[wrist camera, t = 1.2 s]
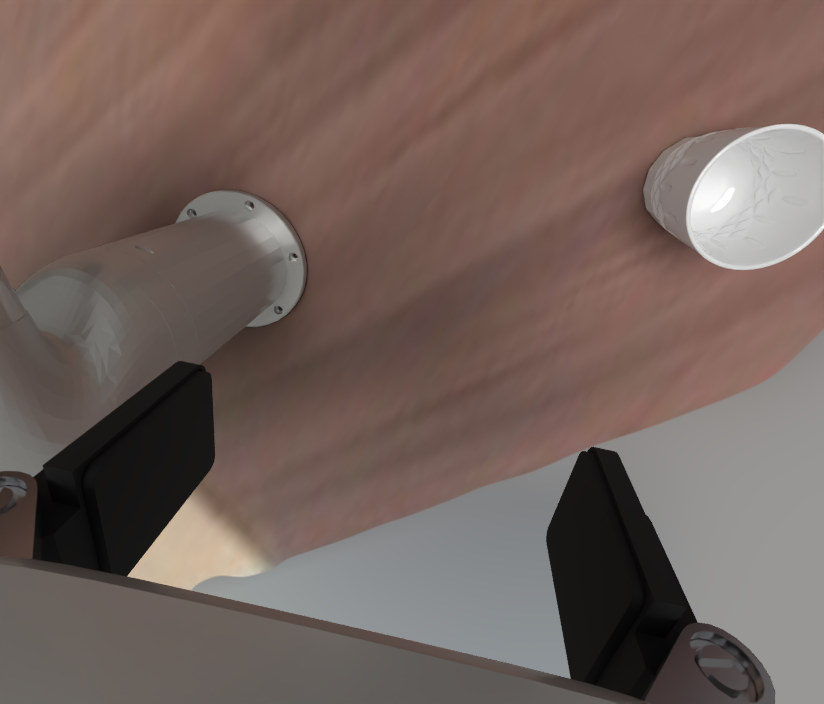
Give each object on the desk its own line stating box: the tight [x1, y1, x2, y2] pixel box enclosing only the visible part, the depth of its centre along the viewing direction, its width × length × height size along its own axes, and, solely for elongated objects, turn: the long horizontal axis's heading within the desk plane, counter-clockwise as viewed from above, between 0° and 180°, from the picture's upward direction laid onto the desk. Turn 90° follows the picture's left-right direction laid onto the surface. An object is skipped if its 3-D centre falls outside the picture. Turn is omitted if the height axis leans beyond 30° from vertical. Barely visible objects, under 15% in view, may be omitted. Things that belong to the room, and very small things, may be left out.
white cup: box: [643, 124, 824, 270], centre depth 30 cm, size 8×8×10 cm
